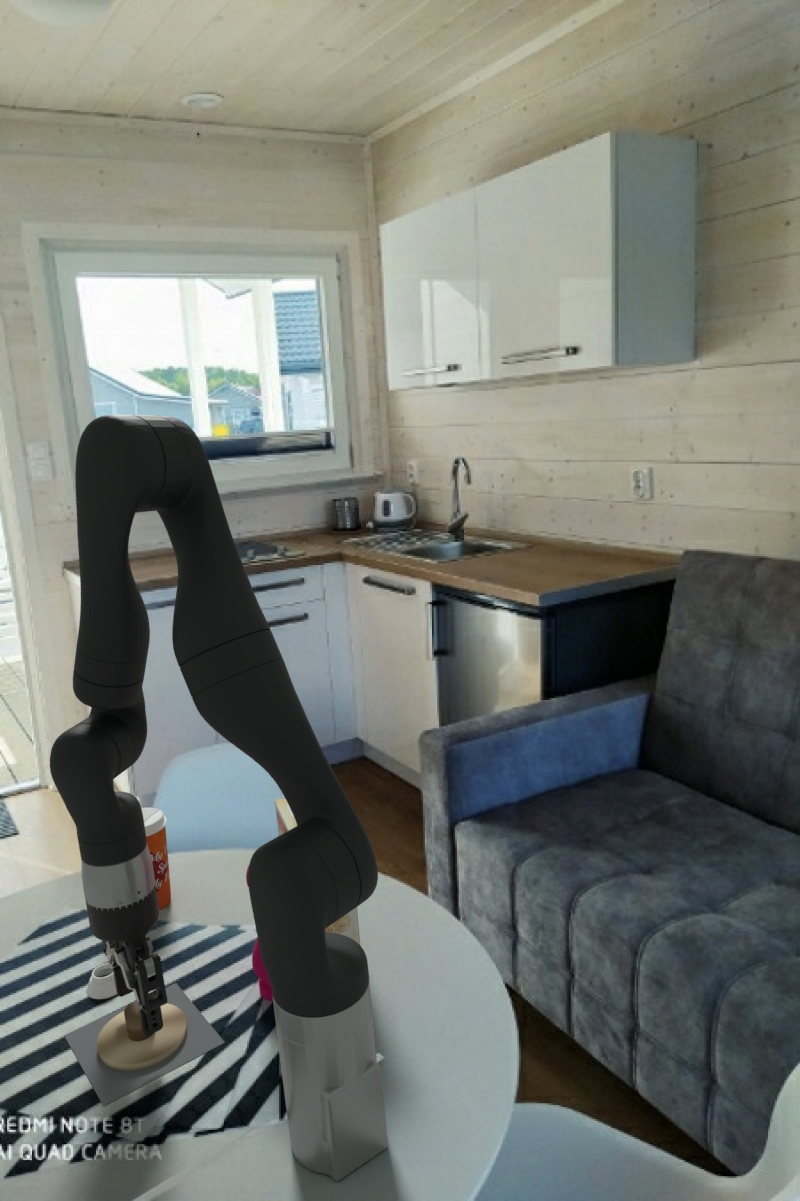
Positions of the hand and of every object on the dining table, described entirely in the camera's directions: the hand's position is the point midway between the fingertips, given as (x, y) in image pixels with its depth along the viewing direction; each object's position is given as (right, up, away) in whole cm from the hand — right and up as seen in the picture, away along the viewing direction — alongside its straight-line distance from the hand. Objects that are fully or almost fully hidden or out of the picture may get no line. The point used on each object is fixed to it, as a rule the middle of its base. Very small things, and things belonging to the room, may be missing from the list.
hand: (139, 1011), depth 102 cm
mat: (0, -4, 0) cm, 4 cm away
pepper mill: (+16, -1, +8) cm, 18 cm away
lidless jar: (-7, -2, +11) cm, 13 cm away
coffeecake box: (+20, +1, +15) cm, 25 cm away
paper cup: (-7, +2, +29) cm, 30 cm away
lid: (0, -3, 0) cm, 3 cm away
